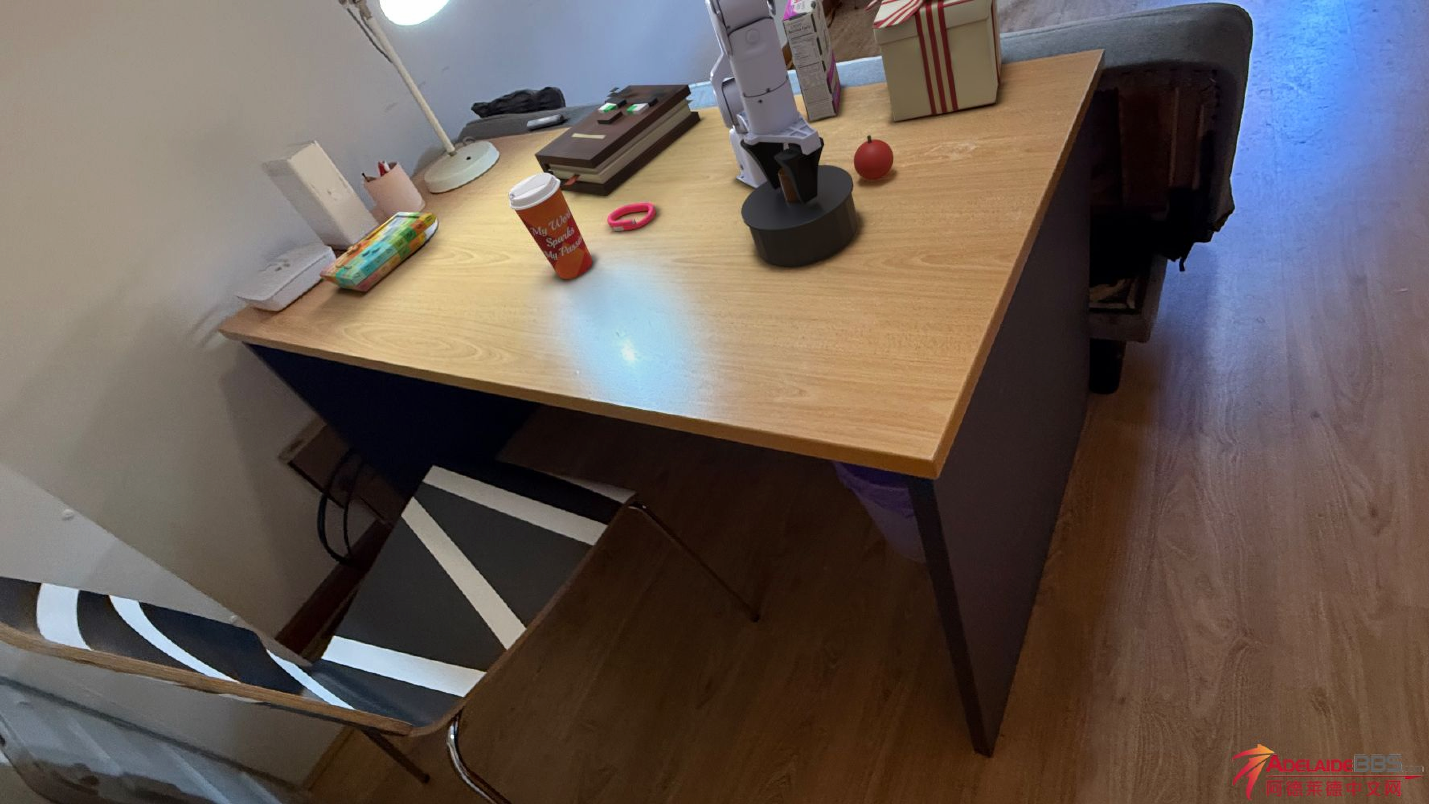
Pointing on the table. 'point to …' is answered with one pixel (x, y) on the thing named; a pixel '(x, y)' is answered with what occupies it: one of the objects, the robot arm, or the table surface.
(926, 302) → the table surface
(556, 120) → the usb stick
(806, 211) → the lid
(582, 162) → the decorative book
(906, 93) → the gift box
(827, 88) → the candy bar box
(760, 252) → the pan
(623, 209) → the fitness band
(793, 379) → the table surface
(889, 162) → the apple
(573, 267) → the paper cup
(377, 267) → the puzzle game
